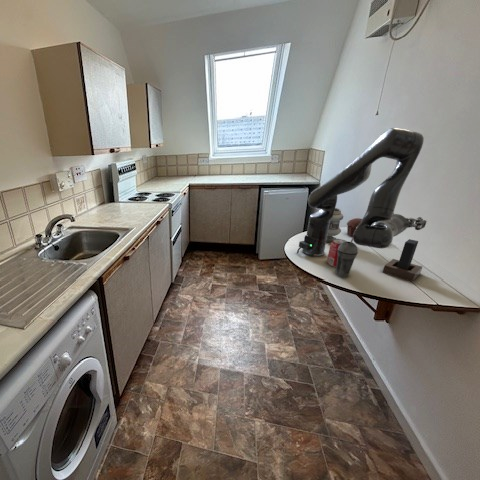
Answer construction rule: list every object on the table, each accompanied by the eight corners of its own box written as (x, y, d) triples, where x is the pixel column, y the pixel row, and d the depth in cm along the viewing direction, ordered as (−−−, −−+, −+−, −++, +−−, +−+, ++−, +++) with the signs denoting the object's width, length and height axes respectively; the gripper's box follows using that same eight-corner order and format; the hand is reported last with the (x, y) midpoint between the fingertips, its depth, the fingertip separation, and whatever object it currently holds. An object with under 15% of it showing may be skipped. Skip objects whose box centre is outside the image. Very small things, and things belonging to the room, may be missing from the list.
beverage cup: (328, 270, 121) (337, 229, 113) (345, 270, 120) (356, 229, 113) (337, 278, 114) (347, 235, 107) (355, 279, 113) (366, 235, 106)
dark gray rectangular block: (395, 273, 116) (405, 242, 111) (399, 270, 119) (409, 239, 113) (403, 276, 114) (414, 244, 108) (407, 272, 116) (418, 241, 111)
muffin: (339, 233, 162) (343, 217, 158) (353, 230, 165) (357, 215, 161) (358, 240, 152) (362, 223, 148) (372, 237, 155) (377, 220, 151)
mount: (412, 281, 110) (415, 274, 108) (382, 272, 118) (384, 265, 116) (420, 273, 115) (422, 266, 114) (390, 265, 123) (393, 258, 122)
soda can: (345, 264, 126) (351, 240, 121) (341, 269, 121) (347, 245, 117) (328, 260, 131) (333, 237, 126) (324, 265, 126) (329, 241, 122)
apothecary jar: (310, 236, 160) (315, 207, 154) (329, 234, 161) (335, 205, 154) (323, 243, 149) (329, 212, 142) (343, 242, 150) (350, 211, 143)
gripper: (419, 220, 91) (433, 211, 99) (370, 212, 102) (386, 205, 110) (412, 241, 94) (426, 230, 102) (365, 230, 105) (381, 222, 113)
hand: (405, 217), depth 106 cm, fingers open, 8 cm apart
